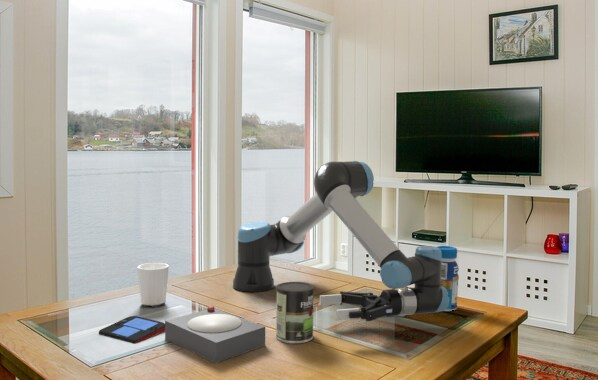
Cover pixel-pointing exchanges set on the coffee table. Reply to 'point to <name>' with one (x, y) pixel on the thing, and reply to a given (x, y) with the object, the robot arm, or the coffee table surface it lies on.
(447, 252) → the beverage bottle
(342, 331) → the coffee table surface
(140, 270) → the cup
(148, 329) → the game console
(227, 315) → the dome button box
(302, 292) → the coffee can
